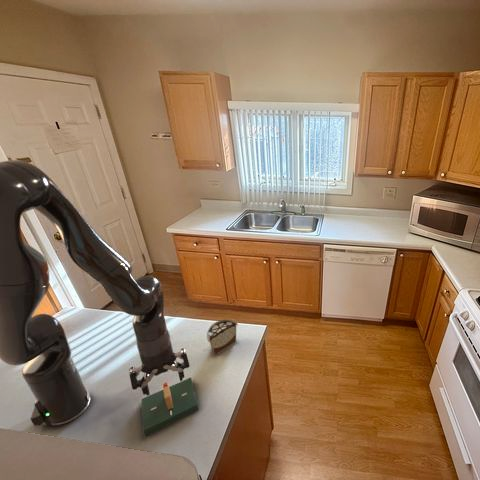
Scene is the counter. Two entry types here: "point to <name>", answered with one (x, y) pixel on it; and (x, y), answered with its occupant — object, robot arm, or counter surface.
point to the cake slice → (222, 335)
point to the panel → (156, 407)
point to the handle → (167, 396)
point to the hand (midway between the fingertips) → (165, 385)
